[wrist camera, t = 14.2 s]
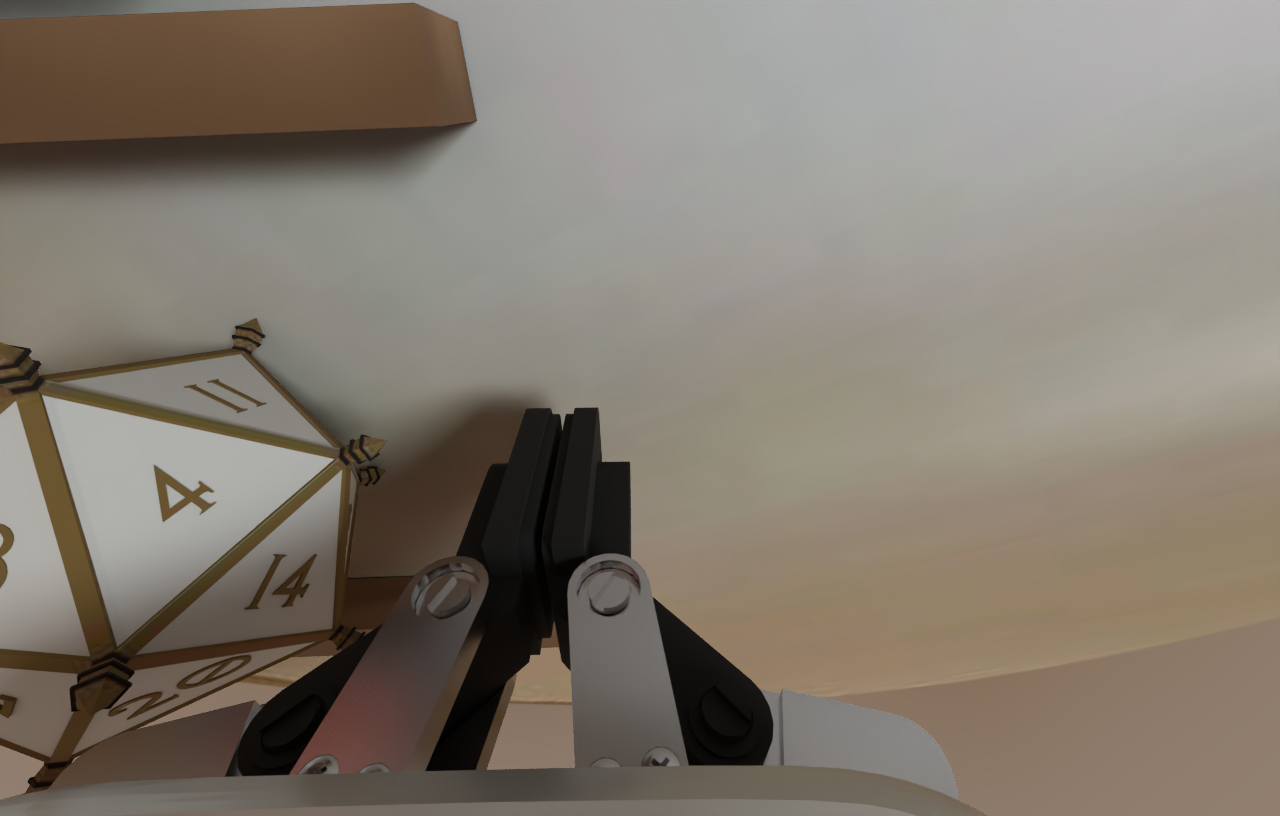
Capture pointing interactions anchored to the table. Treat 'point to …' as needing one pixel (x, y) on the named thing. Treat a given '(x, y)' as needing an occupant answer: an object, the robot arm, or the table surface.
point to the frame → (239, 102)
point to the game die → (160, 540)
